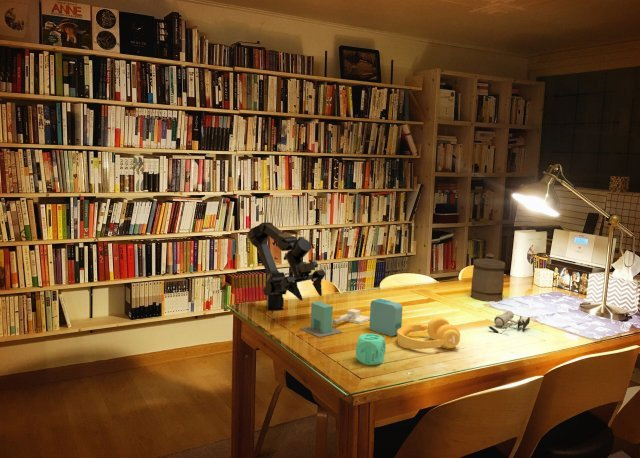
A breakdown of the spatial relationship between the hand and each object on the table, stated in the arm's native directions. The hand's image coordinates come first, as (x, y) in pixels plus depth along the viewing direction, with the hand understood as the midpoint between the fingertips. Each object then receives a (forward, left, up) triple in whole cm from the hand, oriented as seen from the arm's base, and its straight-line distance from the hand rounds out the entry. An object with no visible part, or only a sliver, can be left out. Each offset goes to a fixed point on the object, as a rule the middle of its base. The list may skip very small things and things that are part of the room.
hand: (311, 297), depth 218 cm
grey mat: (+2, -9, -11) cm, 14 cm away
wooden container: (+96, +28, -11) cm, 100 cm away
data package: (+26, -14, -11) cm, 31 cm away
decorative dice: (+10, -41, -11) cm, 44 cm away
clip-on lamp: (+77, -18, -11) cm, 80 cm away
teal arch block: (+2, -9, -10) cm, 14 cm away
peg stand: (+15, 0, -11) cm, 19 cm away
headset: (+36, -29, -11) cm, 48 cm away
